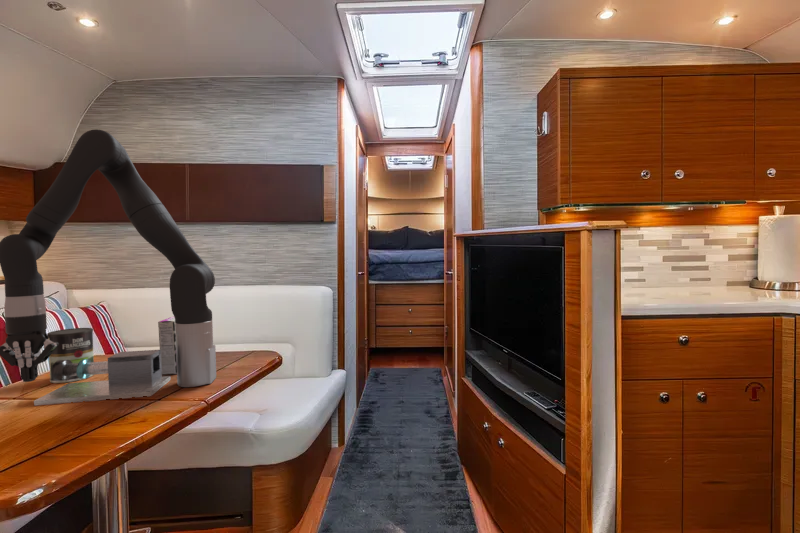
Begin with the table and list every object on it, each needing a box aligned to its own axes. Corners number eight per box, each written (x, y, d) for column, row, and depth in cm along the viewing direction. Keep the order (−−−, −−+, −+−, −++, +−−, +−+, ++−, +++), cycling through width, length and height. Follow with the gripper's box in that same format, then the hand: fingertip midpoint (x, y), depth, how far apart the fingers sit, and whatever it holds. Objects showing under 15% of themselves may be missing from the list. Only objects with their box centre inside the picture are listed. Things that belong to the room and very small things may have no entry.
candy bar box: (177, 364, 127) (175, 315, 126) (193, 364, 127) (191, 314, 127) (159, 375, 116) (157, 321, 115) (176, 374, 116) (174, 320, 116)
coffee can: (101, 375, 117) (99, 329, 116) (57, 385, 108) (54, 335, 107) (86, 370, 122) (84, 326, 122) (44, 379, 113) (41, 332, 113)
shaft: (142, 372, 106) (141, 353, 106) (133, 378, 101) (132, 358, 101) (65, 377, 102) (64, 358, 102) (51, 383, 97) (50, 363, 97)
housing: (170, 379, 111) (169, 346, 111) (150, 396, 98) (149, 358, 98) (68, 387, 106) (67, 352, 106) (34, 405, 93) (32, 365, 93)
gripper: (65, 310, 103) (68, 374, 104) (7, 312, 100) (10, 378, 101) (45, 314, 96) (49, 383, 96) (-18, 317, 93) (-14, 388, 94)
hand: (29, 380), depth 99 cm, fingers closed
